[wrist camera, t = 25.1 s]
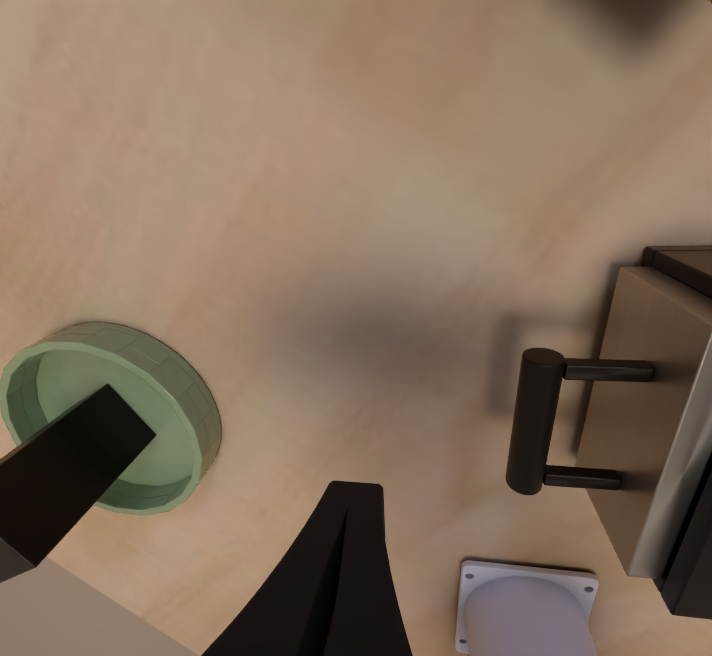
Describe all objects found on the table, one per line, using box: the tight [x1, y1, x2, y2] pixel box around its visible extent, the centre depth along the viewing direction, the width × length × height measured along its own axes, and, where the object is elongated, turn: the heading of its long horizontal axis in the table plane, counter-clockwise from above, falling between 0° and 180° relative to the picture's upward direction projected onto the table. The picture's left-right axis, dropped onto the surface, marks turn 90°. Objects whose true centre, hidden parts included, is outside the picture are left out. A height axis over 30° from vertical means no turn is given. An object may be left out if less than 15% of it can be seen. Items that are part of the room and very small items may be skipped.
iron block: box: [0, 384, 156, 583], centre depth 21 cm, size 4×4×8 cm
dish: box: [0, 322, 221, 515], centre depth 24 cm, size 12×12×2 cm
